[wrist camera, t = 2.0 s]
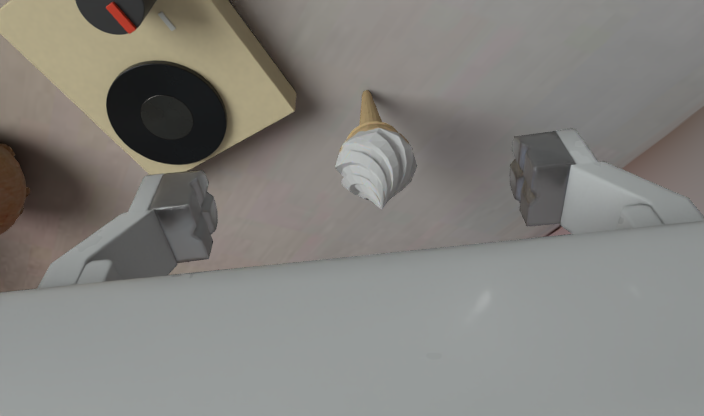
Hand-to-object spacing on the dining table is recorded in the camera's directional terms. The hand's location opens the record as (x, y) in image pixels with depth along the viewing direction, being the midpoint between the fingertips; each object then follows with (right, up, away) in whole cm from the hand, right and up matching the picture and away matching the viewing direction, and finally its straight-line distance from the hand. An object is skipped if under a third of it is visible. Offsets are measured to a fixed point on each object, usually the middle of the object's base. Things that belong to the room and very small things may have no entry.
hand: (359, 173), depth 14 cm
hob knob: (-15, +14, +21) cm, 29 cm away
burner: (-14, +6, +28) cm, 32 cm away
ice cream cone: (+1, +9, +31) cm, 32 cm away
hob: (-15, +11, +28) cm, 34 cm away
